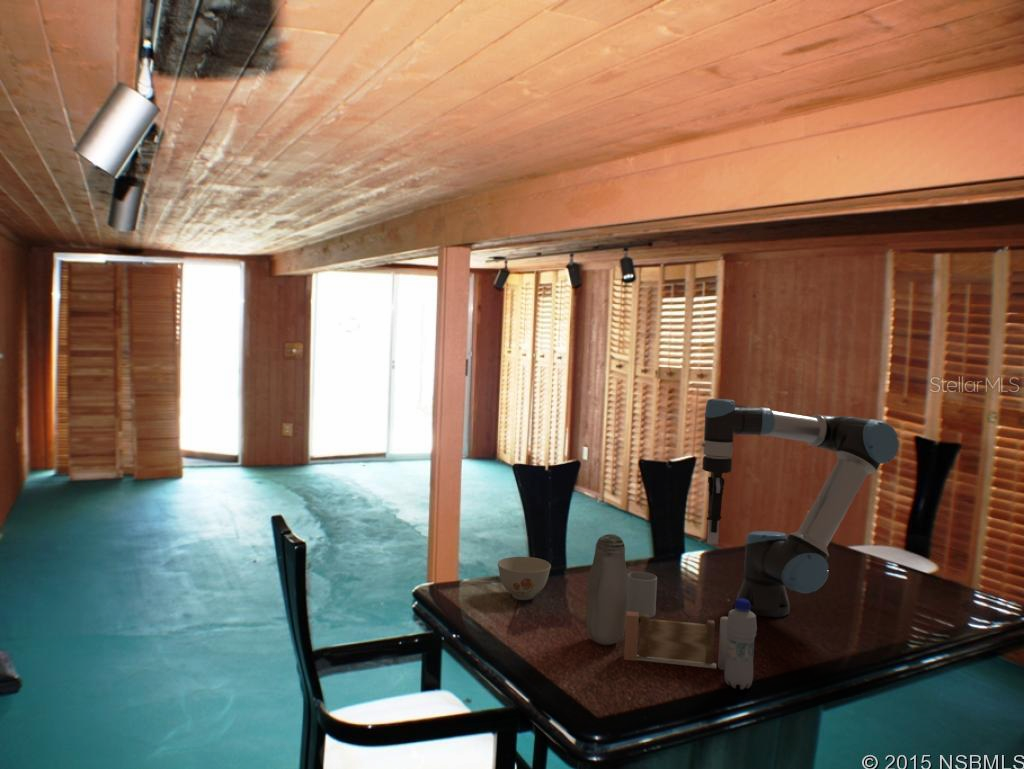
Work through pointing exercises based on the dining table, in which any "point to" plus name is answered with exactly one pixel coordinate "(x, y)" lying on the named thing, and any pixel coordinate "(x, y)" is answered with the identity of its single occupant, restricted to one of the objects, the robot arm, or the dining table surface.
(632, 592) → the mug
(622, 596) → the white tapered flask
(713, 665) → the fence
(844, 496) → the robot arm
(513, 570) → the bowl
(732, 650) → the bottle
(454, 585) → the dining table surface
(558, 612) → the dining table surface
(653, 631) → the gate
